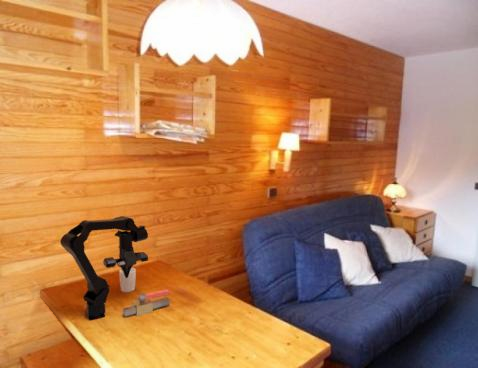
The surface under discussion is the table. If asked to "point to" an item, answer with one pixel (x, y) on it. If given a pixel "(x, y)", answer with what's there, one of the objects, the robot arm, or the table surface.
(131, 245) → the robot arm
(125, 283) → the white cup
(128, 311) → the valve
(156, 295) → the lever
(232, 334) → the table surface
